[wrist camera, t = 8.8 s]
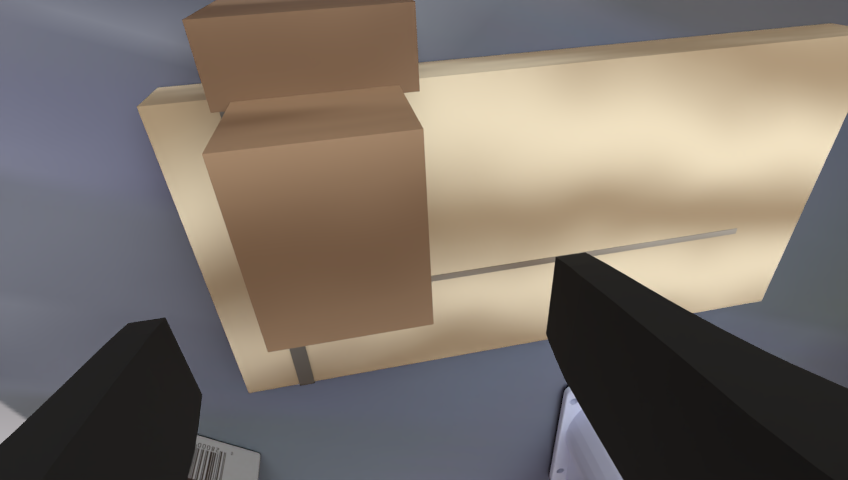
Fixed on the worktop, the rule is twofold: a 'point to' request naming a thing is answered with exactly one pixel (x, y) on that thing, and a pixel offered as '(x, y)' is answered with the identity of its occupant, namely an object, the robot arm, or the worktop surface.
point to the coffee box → (222, 461)
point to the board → (562, 184)
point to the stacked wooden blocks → (319, 162)
